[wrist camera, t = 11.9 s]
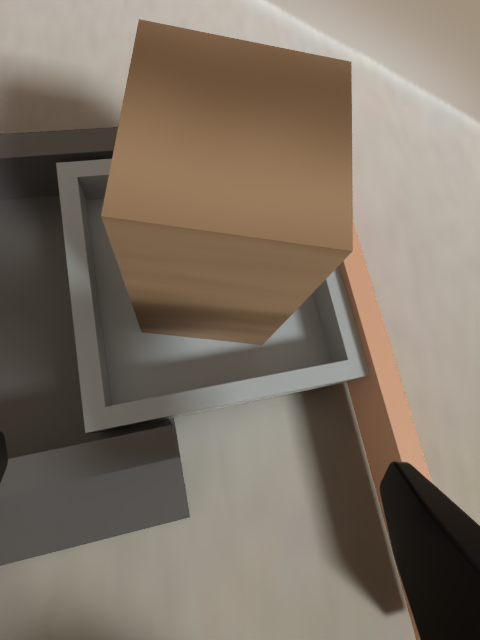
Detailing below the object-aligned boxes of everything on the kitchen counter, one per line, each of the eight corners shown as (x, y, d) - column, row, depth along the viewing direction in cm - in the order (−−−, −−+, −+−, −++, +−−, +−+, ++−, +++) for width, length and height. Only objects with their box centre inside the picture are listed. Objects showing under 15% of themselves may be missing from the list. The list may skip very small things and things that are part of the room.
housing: (189, 514, 18) (192, 533, 14) (-147, 599, 15) (-242, 648, 12) (128, 134, 22) (119, 80, 19) (-135, 151, 20) (-200, 92, 16)
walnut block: (262, 345, 18) (353, 251, 9) (141, 332, 18) (100, 215, 8) (268, 238, 20) (351, 61, 11) (157, 222, 19) (139, 19, 10)
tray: (437, 638, 17) (492, 681, 14) (135, 747, 14) (124, 827, 12) (307, 174, 22) (326, 135, 19) (71, 196, 20) (52, 155, 17)
